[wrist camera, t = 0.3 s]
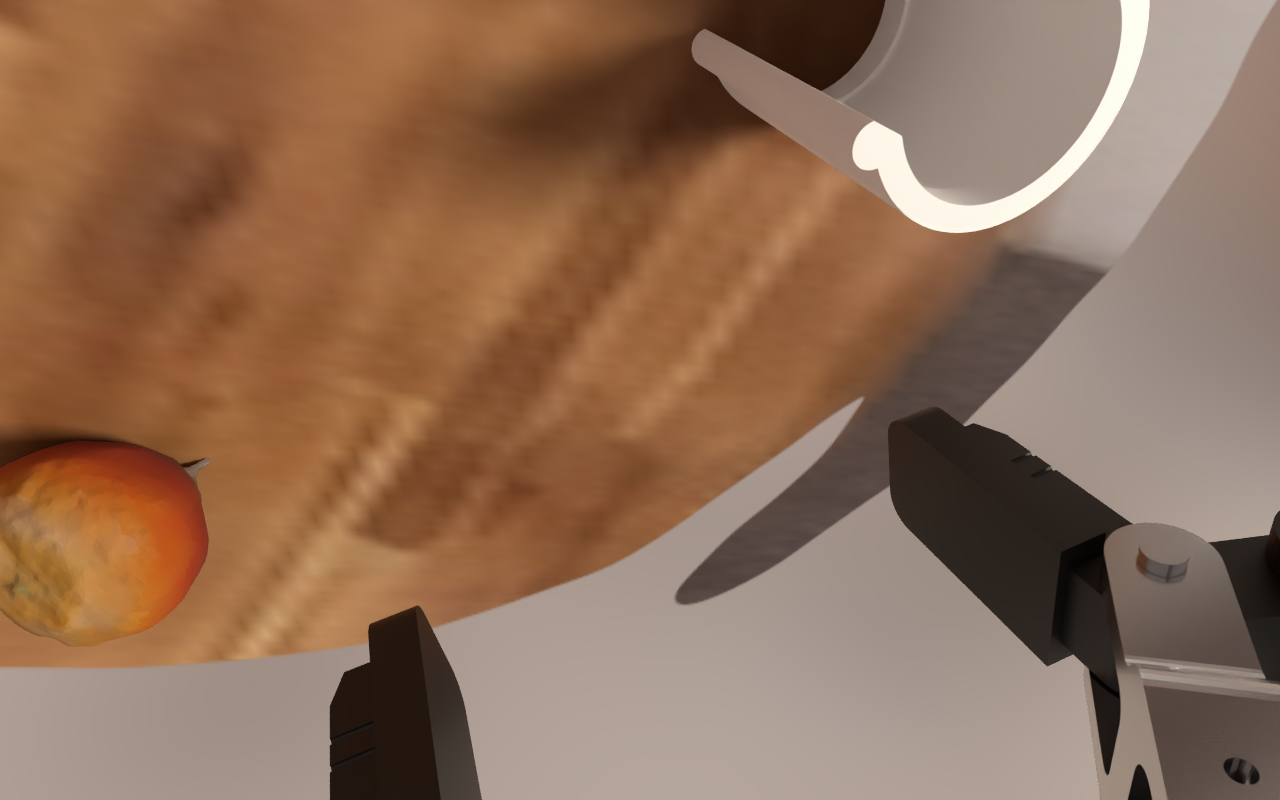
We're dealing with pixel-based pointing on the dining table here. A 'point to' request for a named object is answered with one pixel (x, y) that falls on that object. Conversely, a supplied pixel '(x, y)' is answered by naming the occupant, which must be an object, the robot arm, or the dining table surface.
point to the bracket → (957, 101)
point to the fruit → (97, 539)
